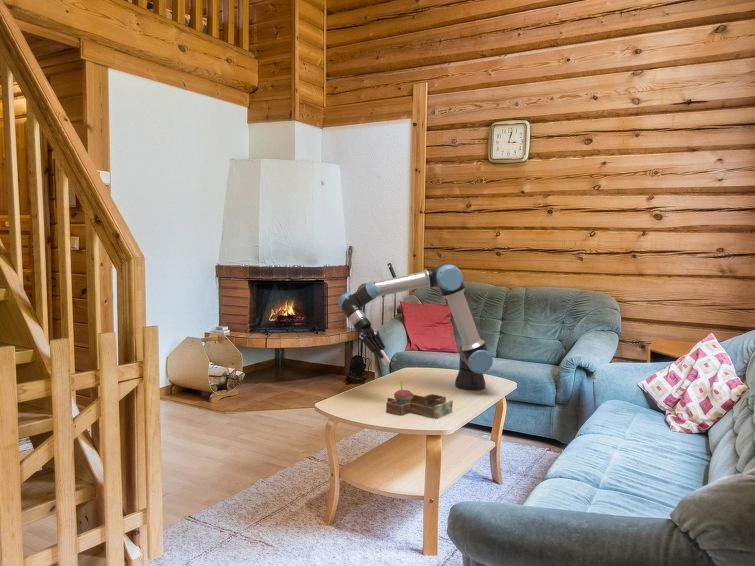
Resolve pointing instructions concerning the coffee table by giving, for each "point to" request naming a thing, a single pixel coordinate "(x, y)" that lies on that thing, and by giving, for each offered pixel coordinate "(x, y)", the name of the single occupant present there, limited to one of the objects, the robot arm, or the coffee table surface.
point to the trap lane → (421, 406)
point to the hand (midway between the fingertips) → (387, 363)
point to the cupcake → (403, 396)
